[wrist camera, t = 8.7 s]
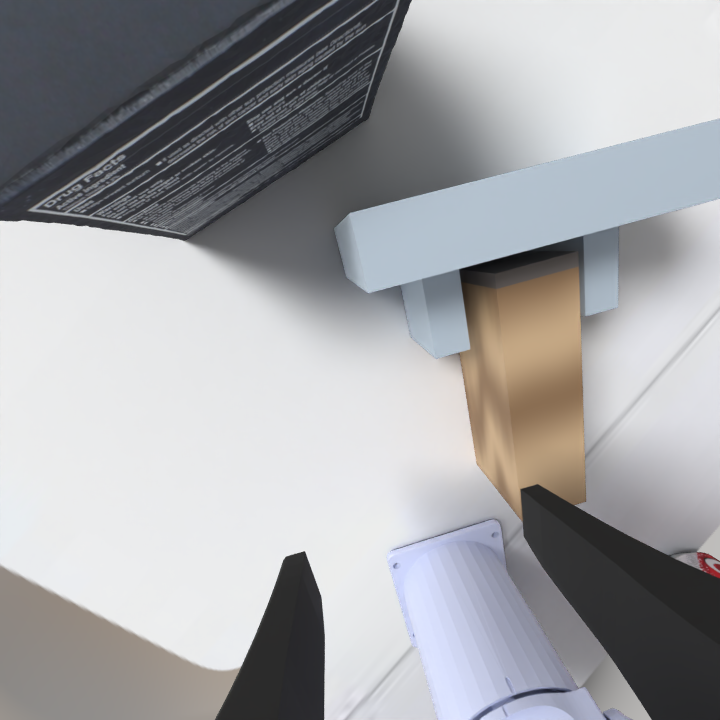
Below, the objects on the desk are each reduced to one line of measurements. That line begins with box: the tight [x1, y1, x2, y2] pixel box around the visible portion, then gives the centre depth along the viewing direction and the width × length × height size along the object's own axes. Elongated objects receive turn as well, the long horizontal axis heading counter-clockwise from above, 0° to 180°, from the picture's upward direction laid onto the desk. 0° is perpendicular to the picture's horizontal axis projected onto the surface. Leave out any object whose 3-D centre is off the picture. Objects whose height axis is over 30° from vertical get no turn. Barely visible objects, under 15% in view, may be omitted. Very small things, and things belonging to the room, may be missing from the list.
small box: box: [0, 0, 412, 241], centre depth 10 cm, size 11×6×10 cm, turn 122°
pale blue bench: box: [334, 119, 720, 359], centre depth 15 cm, size 6×14×7 cm, turn 104°
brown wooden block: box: [459, 251, 586, 522], centre depth 18 cm, size 13×4×5 cm, turn 14°
